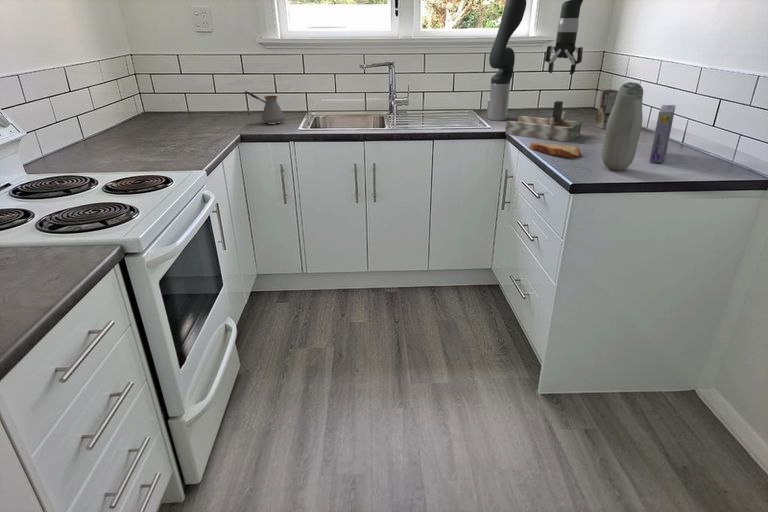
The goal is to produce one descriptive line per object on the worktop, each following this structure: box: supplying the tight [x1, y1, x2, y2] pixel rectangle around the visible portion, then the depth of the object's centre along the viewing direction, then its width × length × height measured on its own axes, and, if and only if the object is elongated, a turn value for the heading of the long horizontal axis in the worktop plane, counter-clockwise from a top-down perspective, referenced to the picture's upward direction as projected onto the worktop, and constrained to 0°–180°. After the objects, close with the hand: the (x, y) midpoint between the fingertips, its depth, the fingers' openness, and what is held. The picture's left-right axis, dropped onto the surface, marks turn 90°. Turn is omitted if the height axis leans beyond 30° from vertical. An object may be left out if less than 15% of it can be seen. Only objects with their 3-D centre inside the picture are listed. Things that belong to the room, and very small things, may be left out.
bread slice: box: [528, 142, 582, 159], centre depth 186 cm, size 18×18×4 cm
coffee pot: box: [242, 90, 286, 123], centre depth 244 cm, size 21×12×15 cm, turn 68°
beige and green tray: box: [504, 111, 583, 143], centre depth 212 cm, size 28×17×9 cm, turn 54°
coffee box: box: [594, 89, 618, 130], centre depth 222 cm, size 9×6×16 cm
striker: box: [549, 100, 564, 127], centre depth 208 cm, size 2×12×11 cm, turn 144°
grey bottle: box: [601, 81, 644, 171], centre depth 160 cm, size 10×10×28 cm
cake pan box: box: [649, 104, 676, 164], centre depth 175 cm, size 19×5×18 cm, turn 150°
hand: (561, 73), depth 202 cm, fingers open, 8 cm apart
